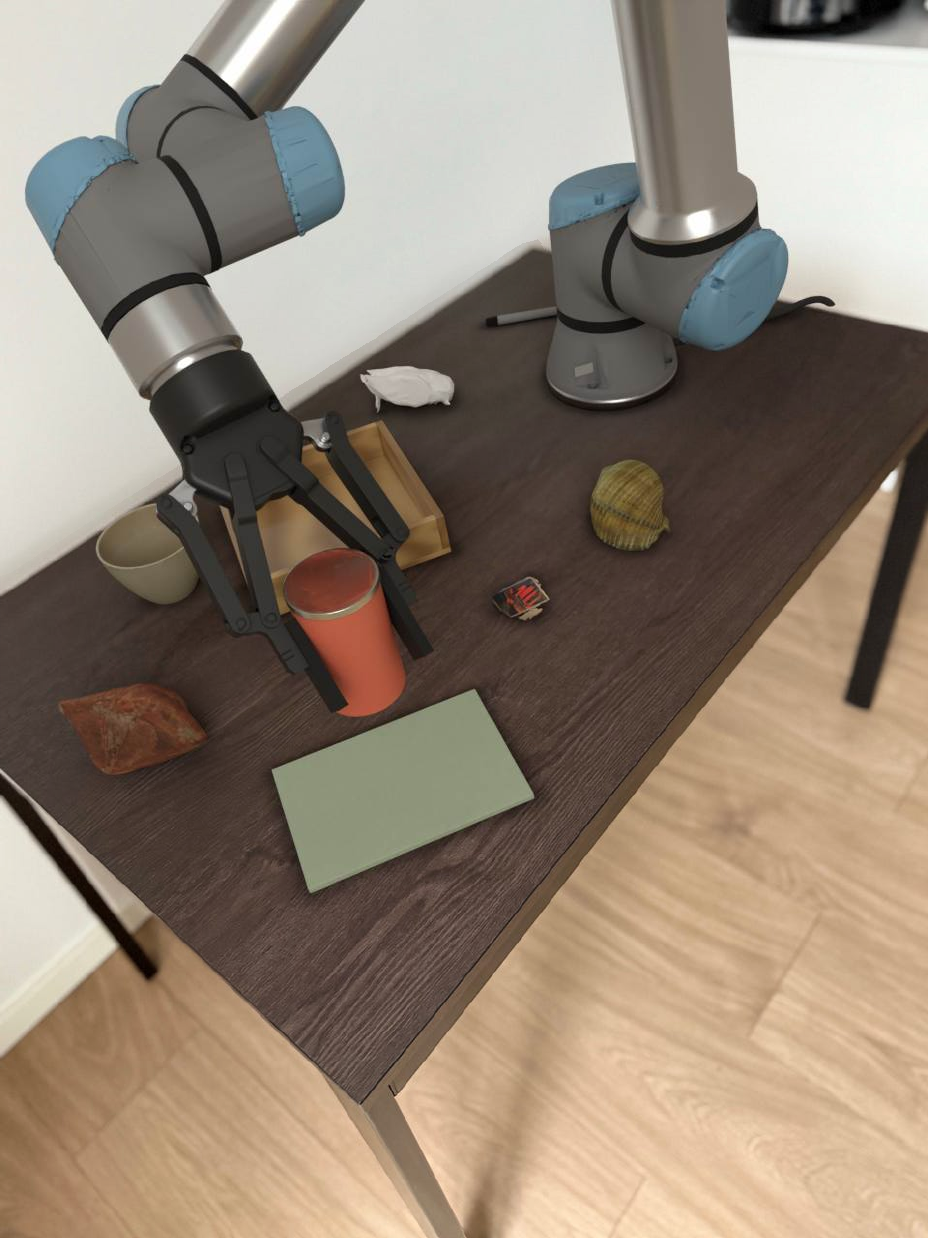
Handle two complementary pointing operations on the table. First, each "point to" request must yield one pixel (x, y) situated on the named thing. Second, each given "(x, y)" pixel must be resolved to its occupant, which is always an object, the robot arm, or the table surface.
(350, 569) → the cylinder
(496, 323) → the pen
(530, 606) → the matchbox
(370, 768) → the mat
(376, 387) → the bird figurine
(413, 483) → the wooden box
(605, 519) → the seashell
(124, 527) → the beige bowl
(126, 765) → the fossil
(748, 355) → the table surface
